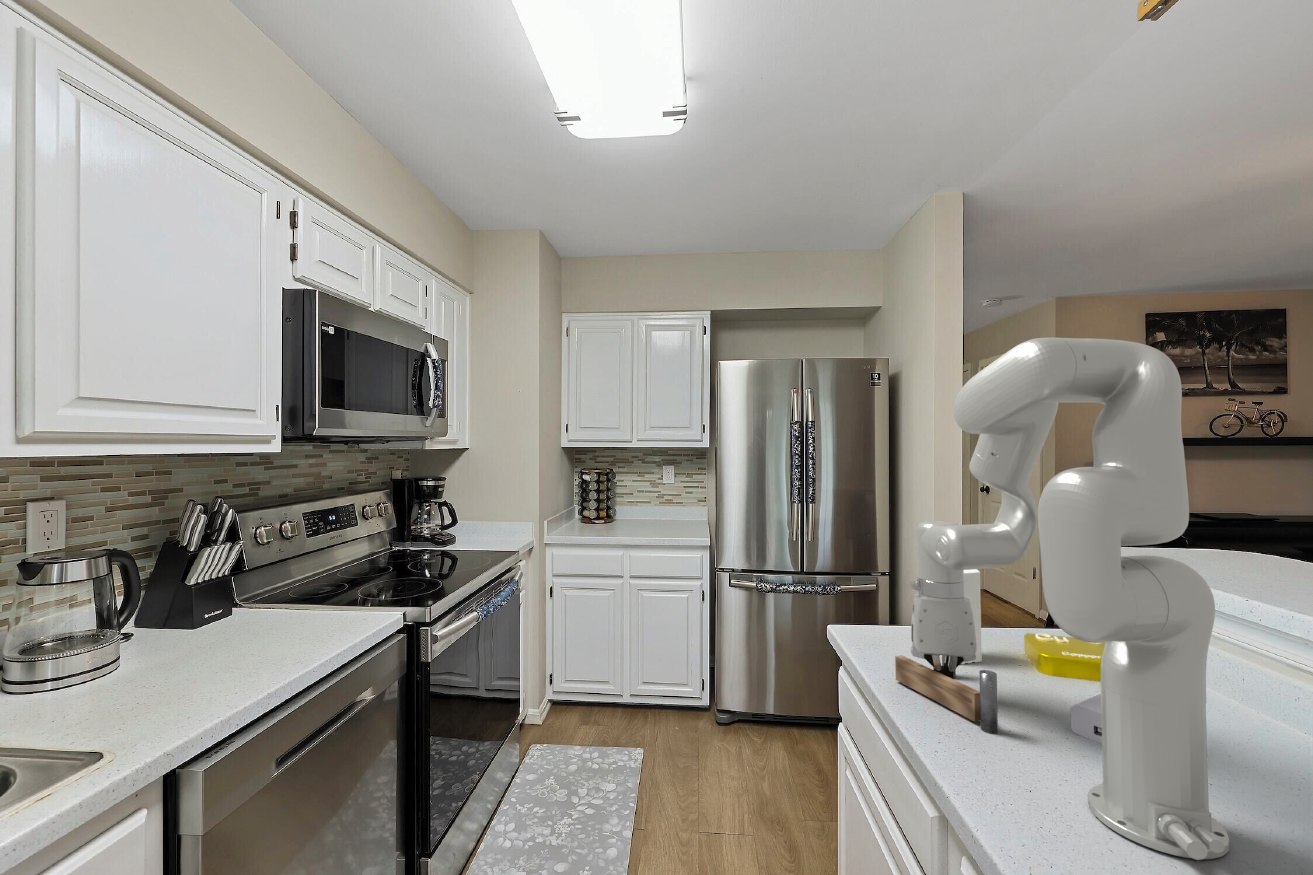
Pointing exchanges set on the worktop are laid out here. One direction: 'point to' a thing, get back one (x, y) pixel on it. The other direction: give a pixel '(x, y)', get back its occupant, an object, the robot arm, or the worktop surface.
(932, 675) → the gate
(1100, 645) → the element tile
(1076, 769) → the worktop surface
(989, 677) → the hinge post
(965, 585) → the milk
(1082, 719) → the charger
